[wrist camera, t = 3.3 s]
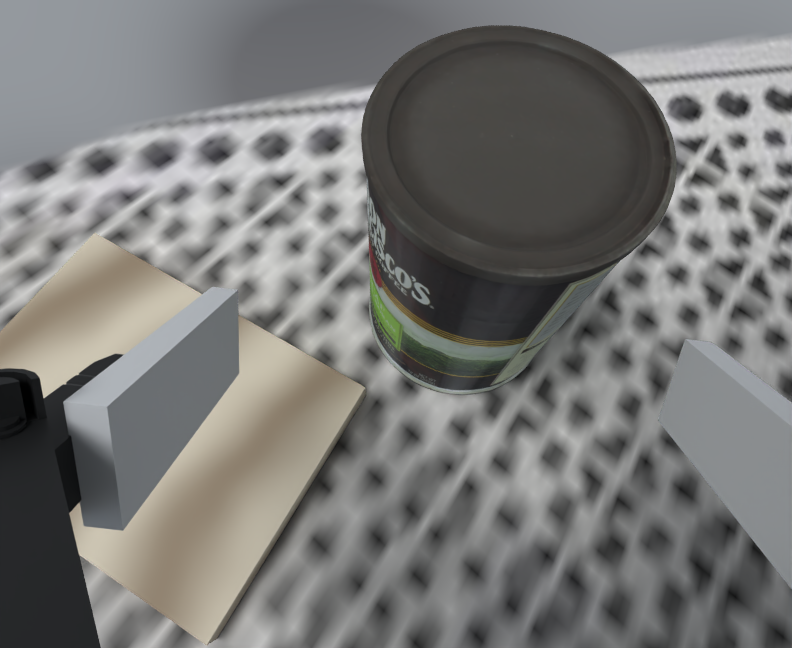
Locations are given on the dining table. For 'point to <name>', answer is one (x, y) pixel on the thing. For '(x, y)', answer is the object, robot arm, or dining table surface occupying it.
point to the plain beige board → (208, 448)
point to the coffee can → (502, 196)
